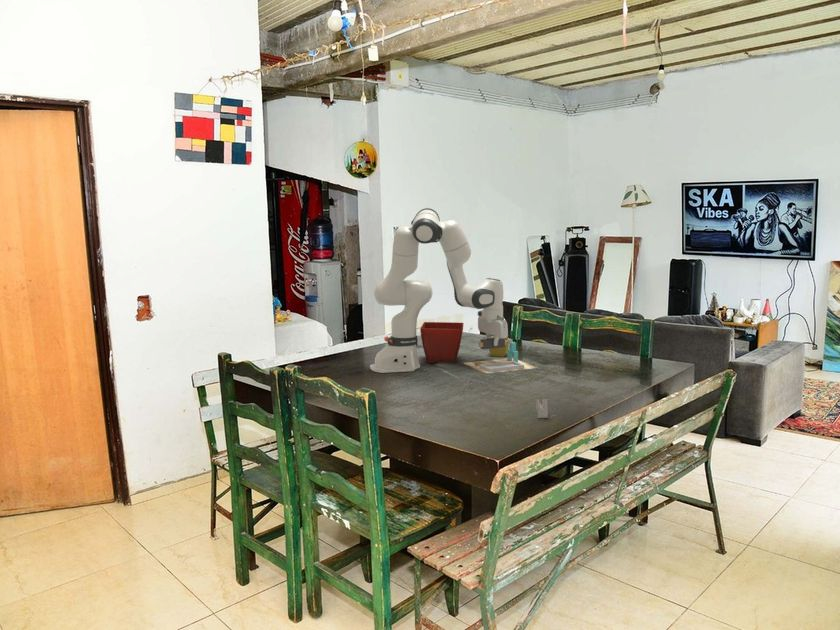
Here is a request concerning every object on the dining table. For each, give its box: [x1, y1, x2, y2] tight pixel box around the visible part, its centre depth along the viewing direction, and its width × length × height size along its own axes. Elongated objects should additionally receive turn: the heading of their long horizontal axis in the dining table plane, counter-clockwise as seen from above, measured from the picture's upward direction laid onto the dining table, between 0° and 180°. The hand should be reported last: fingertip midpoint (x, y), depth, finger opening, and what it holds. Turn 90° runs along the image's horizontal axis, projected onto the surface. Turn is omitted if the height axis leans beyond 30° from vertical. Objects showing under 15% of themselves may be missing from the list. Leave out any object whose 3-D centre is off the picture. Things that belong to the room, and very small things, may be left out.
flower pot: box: [488, 336, 510, 358], centre depth 319 cm, size 9×9×9 cm
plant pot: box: [419, 321, 464, 364], centre depth 313 cm, size 19×19×17 cm
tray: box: [480, 361, 525, 373], centre depth 293 cm, size 17×9×2 cm, turn 112°
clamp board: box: [462, 357, 538, 374], centre depth 298 cm, size 26×22×3 cm
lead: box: [478, 338, 507, 350], centre depth 303 cm, size 13×3×4 cm, turn 115°
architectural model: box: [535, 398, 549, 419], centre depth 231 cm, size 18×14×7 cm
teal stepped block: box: [506, 341, 519, 362], centre depth 305 cm, size 2×6×8 cm, turn 22°
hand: (492, 344), depth 303 cm, fingers closed on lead, 3 cm apart
